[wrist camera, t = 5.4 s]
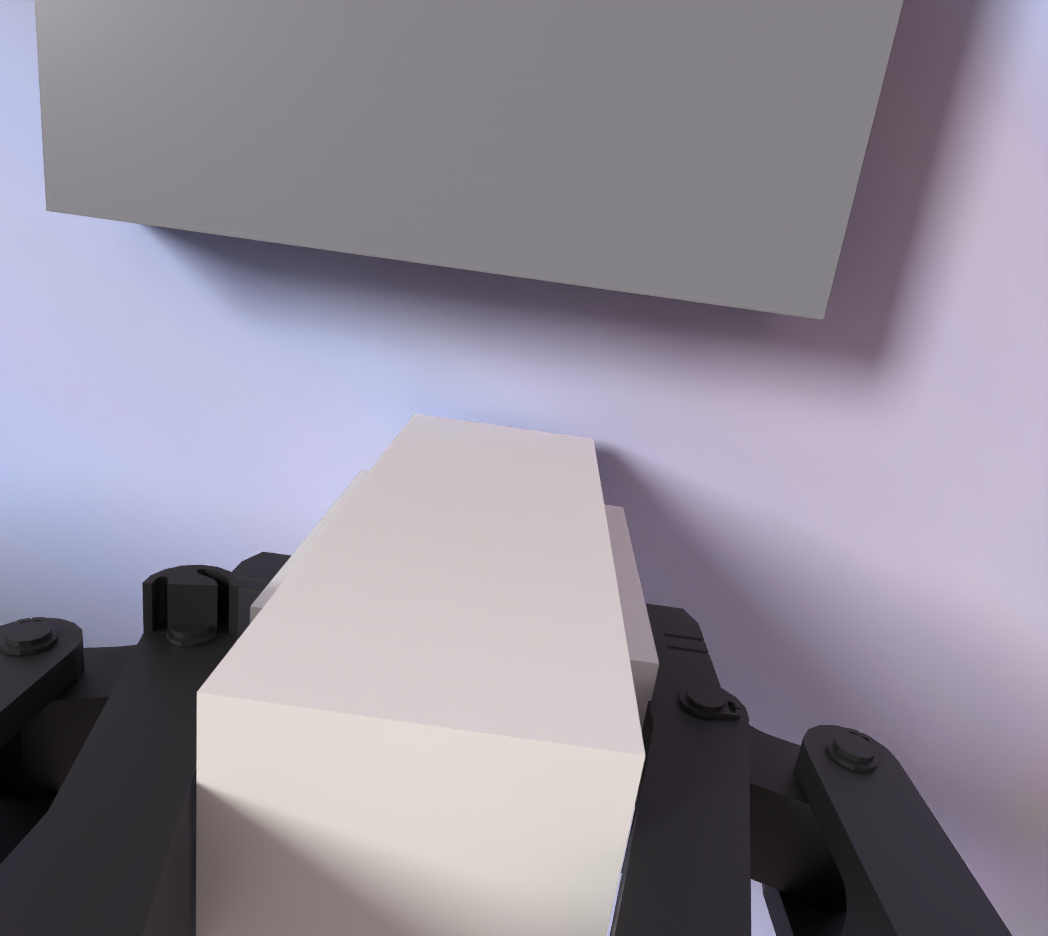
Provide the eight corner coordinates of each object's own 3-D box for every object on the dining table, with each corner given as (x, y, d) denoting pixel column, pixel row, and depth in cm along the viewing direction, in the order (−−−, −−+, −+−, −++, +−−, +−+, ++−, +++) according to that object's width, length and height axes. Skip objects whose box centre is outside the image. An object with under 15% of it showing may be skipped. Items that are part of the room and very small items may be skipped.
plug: (566, 600, 20) (576, 1074, 9) (399, 576, 20) (196, 1021, 9) (593, 438, 19) (644, 754, 8) (414, 413, 19) (197, 692, 8)
